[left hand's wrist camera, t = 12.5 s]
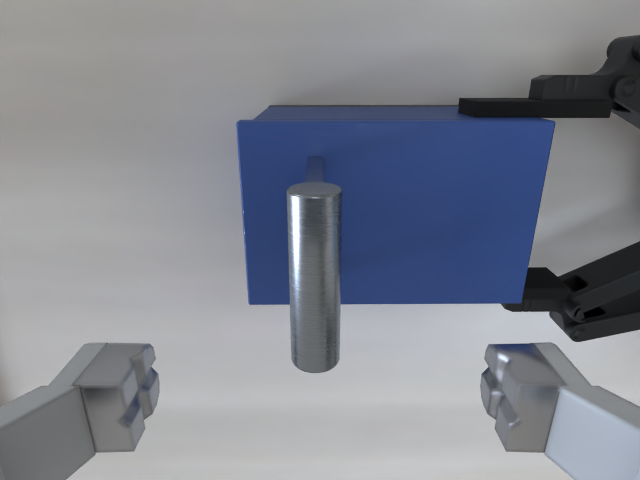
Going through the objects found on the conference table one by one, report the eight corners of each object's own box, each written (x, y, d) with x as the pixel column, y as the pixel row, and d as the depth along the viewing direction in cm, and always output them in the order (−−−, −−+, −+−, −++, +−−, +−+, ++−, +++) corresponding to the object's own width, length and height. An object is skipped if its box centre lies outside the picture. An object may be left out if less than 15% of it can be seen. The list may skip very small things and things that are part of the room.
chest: (275, 239, 32) (261, 297, 23) (270, 105, 28) (251, 119, 20) (464, 238, 32) (514, 295, 24) (481, 105, 28) (547, 118, 20)
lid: (250, 297, 23) (219, 405, 16) (239, 119, 20) (192, 149, 13) (515, 296, 24) (609, 403, 16) (547, 119, 20) (685, 148, 13)
